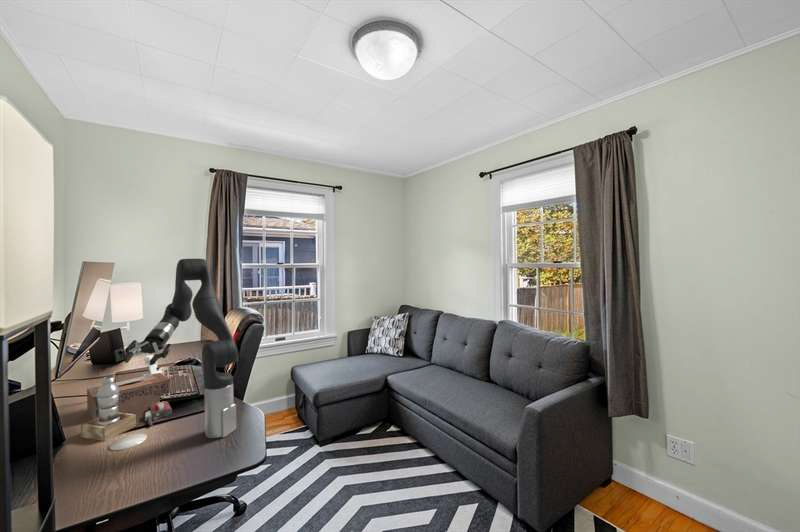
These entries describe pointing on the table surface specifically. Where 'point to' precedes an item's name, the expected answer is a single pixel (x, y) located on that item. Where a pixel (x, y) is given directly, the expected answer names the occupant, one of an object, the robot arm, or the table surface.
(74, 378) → the table surface
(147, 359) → the voxel character
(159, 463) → the table surface
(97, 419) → the oak holder
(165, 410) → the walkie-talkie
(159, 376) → the tissue box cover
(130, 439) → the grey coaster
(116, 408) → the plastic bottle
